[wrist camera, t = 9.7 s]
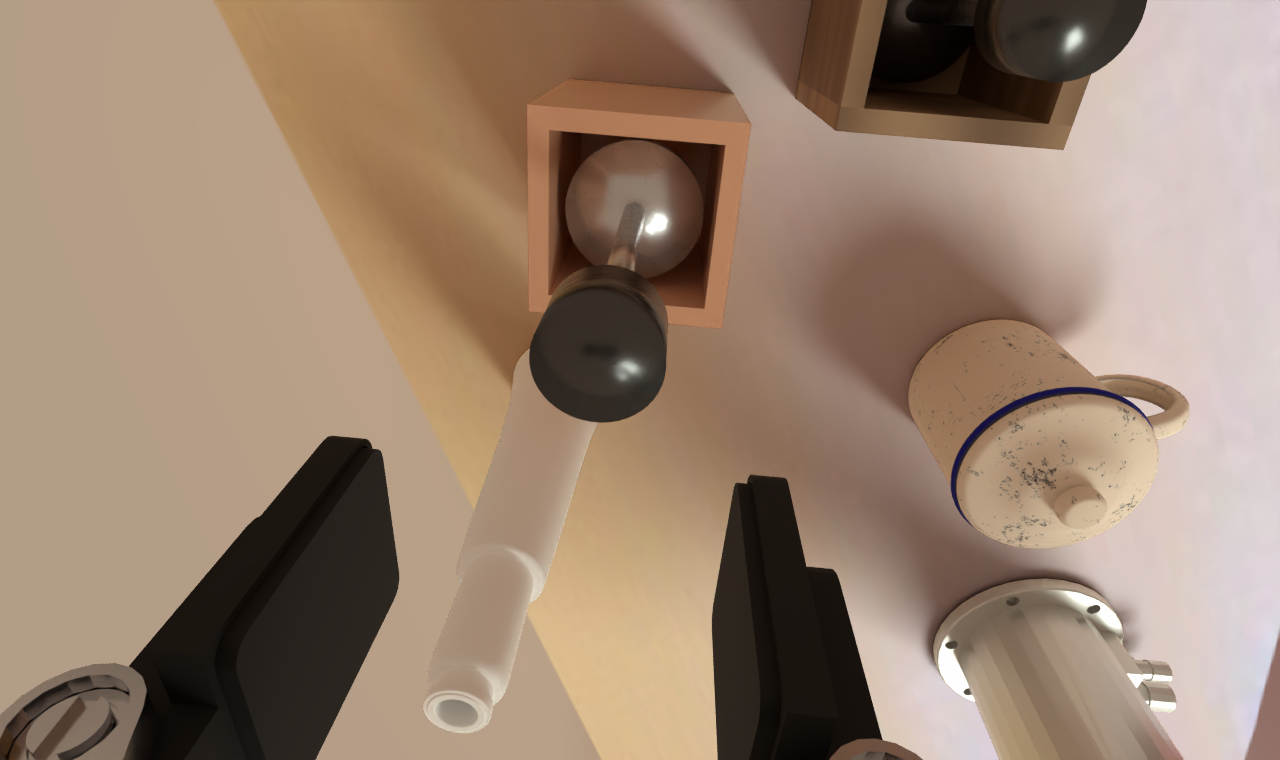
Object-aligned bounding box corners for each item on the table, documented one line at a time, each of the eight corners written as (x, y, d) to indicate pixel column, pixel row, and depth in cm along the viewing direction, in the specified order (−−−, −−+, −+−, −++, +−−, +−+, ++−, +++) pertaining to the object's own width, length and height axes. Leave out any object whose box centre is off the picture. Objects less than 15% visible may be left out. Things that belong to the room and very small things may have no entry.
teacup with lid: (912, 462, 42) (984, 606, 32) (891, 336, 38) (967, 455, 28) (1120, 418, 40) (1269, 557, 30) (1121, 278, 36) (1295, 386, 26)
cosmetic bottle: (533, 432, 43) (410, 777, 24) (499, 349, 40) (329, 664, 21) (624, 414, 42) (573, 759, 23) (596, 328, 39) (510, 637, 20)
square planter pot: (733, 92, 33) (751, 123, 24) (708, 286, 37) (715, 371, 29) (569, 78, 33) (526, 104, 24) (565, 273, 38) (529, 354, 29)
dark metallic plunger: (997, -62, 28) (1249, -118, 15) (956, 86, 30) (1141, 139, 18) (860, -73, 28) (1001, -138, 15) (832, 76, 30) (932, 121, 18)
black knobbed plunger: (711, 144, 26) (733, 260, 14) (695, 278, 29) (702, 472, 17) (569, 132, 27) (472, 237, 14) (566, 266, 29) (483, 451, 17)
